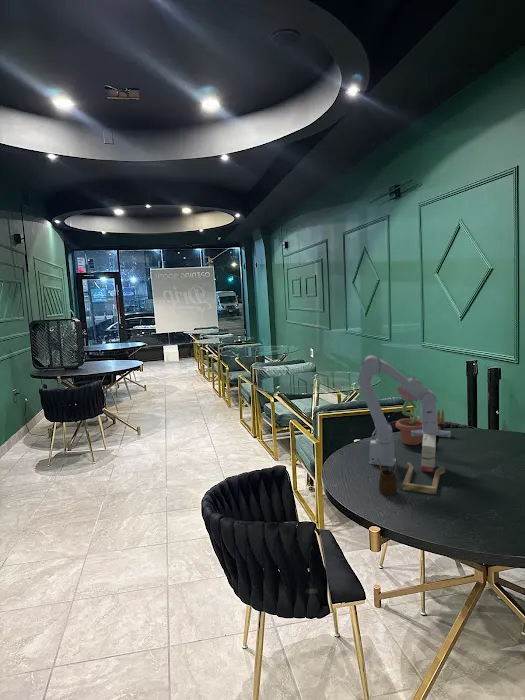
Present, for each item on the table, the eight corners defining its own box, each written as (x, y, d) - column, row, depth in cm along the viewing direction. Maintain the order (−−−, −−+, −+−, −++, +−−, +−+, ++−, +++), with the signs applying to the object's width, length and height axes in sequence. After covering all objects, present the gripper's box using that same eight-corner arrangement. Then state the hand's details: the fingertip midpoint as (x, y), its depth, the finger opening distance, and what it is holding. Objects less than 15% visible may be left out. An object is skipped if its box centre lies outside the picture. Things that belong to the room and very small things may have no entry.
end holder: (398, 488, 159) (398, 483, 159) (407, 467, 178) (407, 462, 178) (440, 494, 153) (440, 489, 153) (445, 471, 172) (445, 466, 172)
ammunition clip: (421, 433, 220) (420, 408, 218) (421, 431, 221) (421, 407, 220) (444, 434, 216) (444, 410, 214) (444, 433, 217) (444, 409, 216)
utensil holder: (396, 496, 154) (396, 462, 152) (377, 494, 156) (376, 460, 154) (397, 489, 159) (397, 456, 158) (379, 487, 161) (378, 454, 160)
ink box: (435, 473, 172) (435, 447, 167) (421, 471, 174) (421, 446, 169) (435, 459, 179) (435, 434, 174) (422, 457, 181) (422, 432, 176)
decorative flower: (391, 446, 203) (390, 380, 199) (394, 436, 216) (394, 375, 212) (426, 449, 197) (426, 381, 194) (428, 439, 210) (428, 375, 206)
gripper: (449, 417, 178) (452, 450, 180) (411, 417, 185) (414, 449, 186) (449, 423, 172) (451, 457, 174) (409, 422, 178) (412, 455, 180)
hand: (432, 453), depth 179 cm, fingers closed, pressing on ink box
